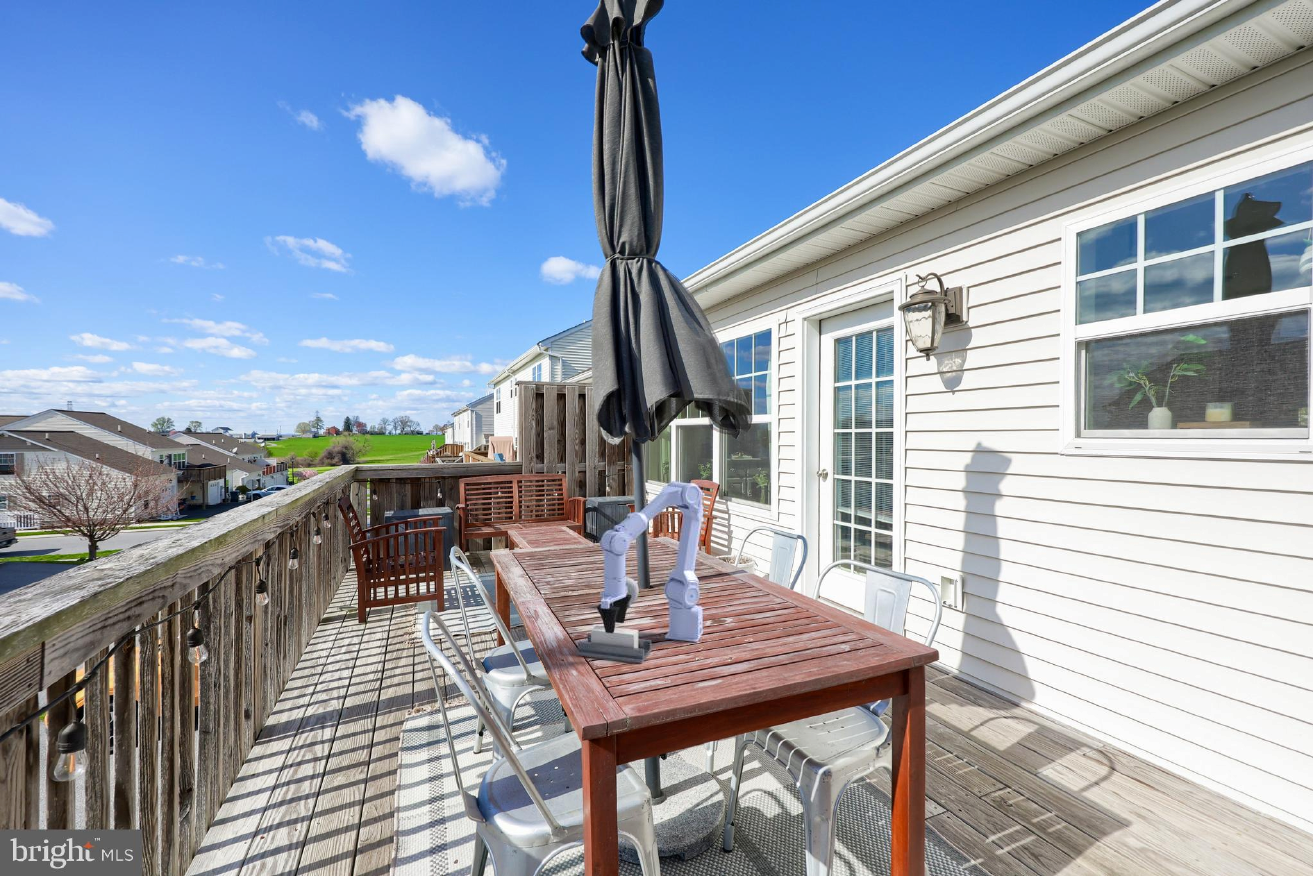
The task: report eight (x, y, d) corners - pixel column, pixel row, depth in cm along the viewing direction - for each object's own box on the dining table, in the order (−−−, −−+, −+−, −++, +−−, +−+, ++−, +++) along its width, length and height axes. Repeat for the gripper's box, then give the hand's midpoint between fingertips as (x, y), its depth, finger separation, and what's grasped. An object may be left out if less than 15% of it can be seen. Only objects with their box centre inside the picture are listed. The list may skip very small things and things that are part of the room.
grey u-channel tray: (652, 650, 145) (652, 638, 145) (641, 663, 136) (641, 651, 136) (590, 642, 150) (590, 631, 150) (576, 655, 141) (576, 643, 141)
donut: (609, 608, 179) (609, 578, 179) (608, 605, 183) (608, 575, 183) (639, 607, 181) (639, 577, 181) (638, 604, 184) (638, 574, 184)
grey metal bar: (638, 649, 143) (638, 630, 143) (633, 654, 140) (633, 634, 140) (596, 644, 146) (596, 625, 146) (591, 648, 143) (591, 630, 143)
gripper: (610, 568, 151) (611, 617, 151) (589, 582, 137) (590, 635, 137) (634, 570, 149) (634, 619, 149) (615, 584, 135) (615, 638, 135)
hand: (615, 627), depth 143 cm, fingers open, 7 cm apart
